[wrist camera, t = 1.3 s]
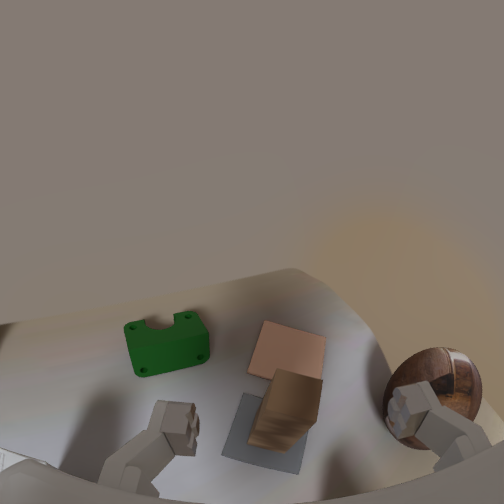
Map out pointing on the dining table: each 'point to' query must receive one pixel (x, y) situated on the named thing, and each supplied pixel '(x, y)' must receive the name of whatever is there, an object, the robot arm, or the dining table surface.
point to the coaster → (287, 352)
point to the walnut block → (286, 411)
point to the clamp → (167, 345)
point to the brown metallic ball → (438, 384)
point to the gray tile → (255, 455)
